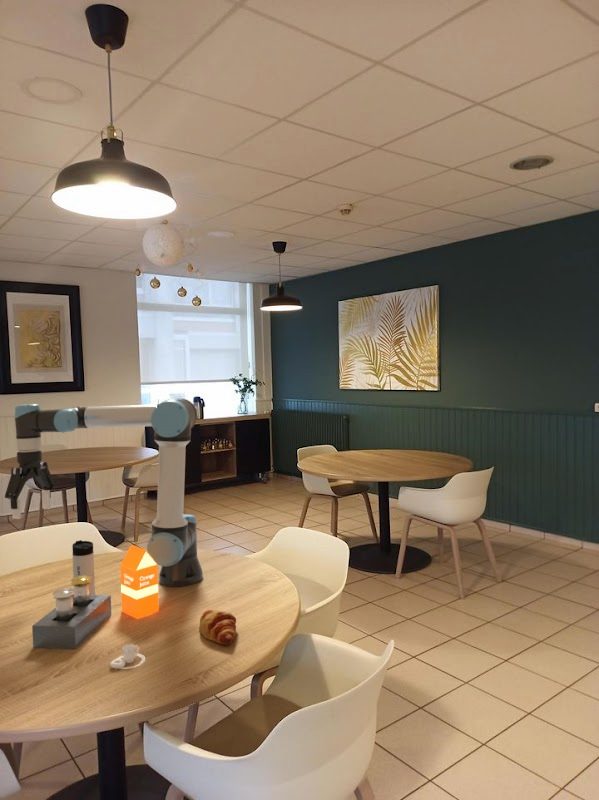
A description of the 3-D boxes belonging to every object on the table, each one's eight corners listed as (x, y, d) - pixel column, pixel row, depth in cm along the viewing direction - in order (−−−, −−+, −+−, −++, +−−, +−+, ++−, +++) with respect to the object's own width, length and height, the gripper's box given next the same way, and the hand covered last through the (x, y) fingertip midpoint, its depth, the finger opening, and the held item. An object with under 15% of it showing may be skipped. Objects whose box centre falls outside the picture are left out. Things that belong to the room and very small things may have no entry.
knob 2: (95, 602, 171) (94, 575, 171) (87, 609, 165) (86, 582, 165) (78, 601, 172) (77, 575, 171) (68, 609, 166) (67, 582, 166)
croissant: (198, 632, 169) (184, 611, 167) (226, 611, 172) (213, 590, 171) (221, 663, 150) (206, 639, 148) (252, 637, 154) (238, 614, 152)
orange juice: (136, 619, 170) (134, 553, 170) (121, 611, 176) (119, 547, 176) (159, 611, 176) (157, 547, 175) (143, 603, 182) (141, 541, 181)
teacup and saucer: (111, 674, 140) (110, 658, 140) (108, 659, 147) (107, 644, 147) (147, 666, 143) (147, 650, 143) (143, 652, 151) (142, 637, 150)
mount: (111, 614, 174) (110, 595, 174) (75, 649, 152) (74, 627, 152) (73, 613, 175) (73, 594, 175) (33, 647, 154) (32, 625, 153)
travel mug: (89, 598, 187) (87, 538, 186) (98, 604, 182) (96, 542, 181) (70, 604, 182) (68, 542, 182) (79, 610, 178) (77, 546, 177)
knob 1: (79, 616, 161) (78, 588, 161) (69, 624, 156) (68, 595, 155) (60, 615, 162) (59, 587, 161) (50, 624, 156) (48, 595, 156)
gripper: (46, 445, 204) (48, 504, 204) (-10, 455, 180) (-7, 522, 181) (63, 445, 201) (66, 505, 202) (9, 455, 178) (12, 523, 178)
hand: (32, 513), depth 191 cm, fingers open, 13 cm apart
